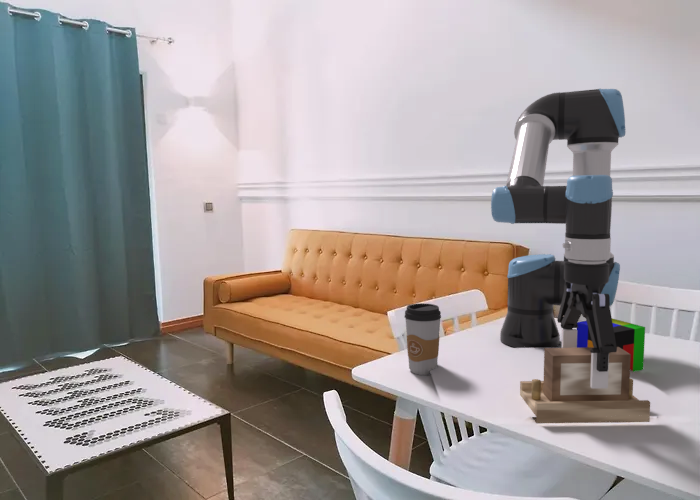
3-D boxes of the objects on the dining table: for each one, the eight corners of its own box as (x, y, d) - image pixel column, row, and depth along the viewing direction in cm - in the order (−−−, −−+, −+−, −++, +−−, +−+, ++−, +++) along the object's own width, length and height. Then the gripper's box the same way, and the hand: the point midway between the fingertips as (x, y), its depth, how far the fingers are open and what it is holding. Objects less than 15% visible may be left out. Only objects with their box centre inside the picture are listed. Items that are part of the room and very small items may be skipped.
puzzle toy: (575, 363, 127) (576, 322, 126) (606, 357, 131) (608, 317, 130) (611, 377, 118) (612, 332, 117) (643, 370, 122) (645, 327, 121)
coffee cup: (397, 371, 124) (396, 307, 122) (418, 362, 130) (418, 301, 128) (427, 379, 119) (427, 313, 117) (448, 369, 125) (448, 306, 123)
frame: (551, 403, 99) (553, 355, 98) (543, 393, 103) (544, 348, 102) (628, 402, 98) (630, 354, 97) (616, 392, 103) (618, 346, 102)
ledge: (519, 400, 106) (520, 371, 105) (622, 399, 106) (623, 370, 105) (536, 423, 96) (537, 391, 96) (649, 421, 96) (651, 389, 95)
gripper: (542, 252, 110) (540, 352, 112) (595, 272, 85) (591, 401, 88) (579, 251, 110) (576, 352, 112) (643, 271, 85) (637, 400, 88)
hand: (582, 374), depth 100 cm, fingers open, 13 cm apart
